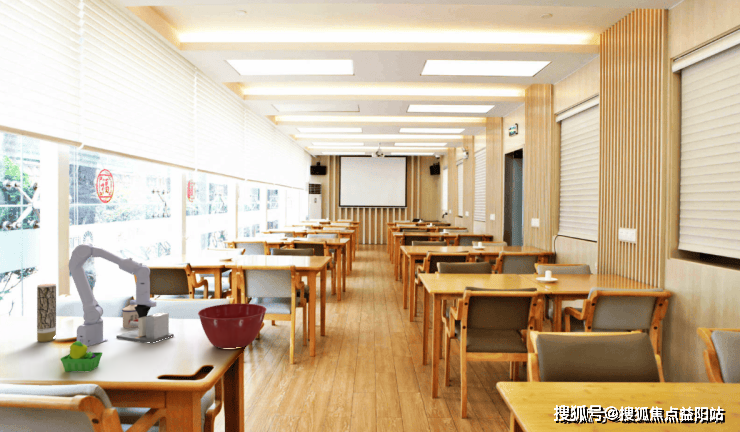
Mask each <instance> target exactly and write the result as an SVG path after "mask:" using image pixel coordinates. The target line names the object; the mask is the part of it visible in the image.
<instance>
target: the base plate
mask: <svg viewBox="0 0 740 432" xmlns="http://www.w3.org/2000/svg"><path fill="white" fill-rule="evenodd" d="M171 336H174V333H171V332H169V335H167V336H164V337H161V338H158V339H155V340H153V339H147V338H146V335H145V336H138V329H135V330H131V331H128V332H125V333H121V334H116V339H119V340H125V341H131V342H137V341H140V342H139V343H144V342H150V343H153V342H156V341H159V340H162V339H165V338H168V337H171ZM171 338H172V337H171ZM168 339H169V338H168ZM165 340H166V339H165ZM162 341H163V340H162ZM159 342H160V341H159ZM150 343H149V344H150ZM156 343H157V342H156ZM153 344H154V343H153Z"/></svg>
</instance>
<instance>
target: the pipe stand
mask: <svg viewBox="0 0 740 432" xmlns="http://www.w3.org/2000/svg"><path fill="white" fill-rule="evenodd" d="M169 317H170V315H169V312H157V313H152V314H149V315H147V316H146V338H147V339H153V340H155V339H158V338H161V337H164V336H167V335H169V333H170V332H169V331H170V330H169V322H170V321H169V320H170V318H169ZM129 324H130V325H133V326H138V322H133V321H131V322H130V323H129Z"/></svg>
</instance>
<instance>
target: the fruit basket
mask: <svg viewBox="0 0 740 432" xmlns="http://www.w3.org/2000/svg"><path fill="white" fill-rule="evenodd" d="M102 355H103V352H99V351H97V352H96V351H95V352H92V351H89V352H88V346H86V345H84V344H82V343H81V342H80V341H77V340H76V341H74V342H72V343H71V345H70V346H69V353H68V354H67V355H65V356H62V357H61V358H60V361H61V365H62V366H63V367H62V368H63V370H64V372H68V371H70V372H71V371H77V372H78V371H84V372H85V371H90V372H91V371H94V370H95V369H96V368H98V367H99V364H100V361H101V357H102ZM94 368H95V369H94ZM68 373H69V372H68Z"/></svg>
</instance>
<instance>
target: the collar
mask: <svg viewBox="0 0 740 432" xmlns="http://www.w3.org/2000/svg"><path fill="white" fill-rule="evenodd" d="M137 328H138V329H137V330H138V336H145V335H146V316H145V317H141V318H138V327H137Z"/></svg>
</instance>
